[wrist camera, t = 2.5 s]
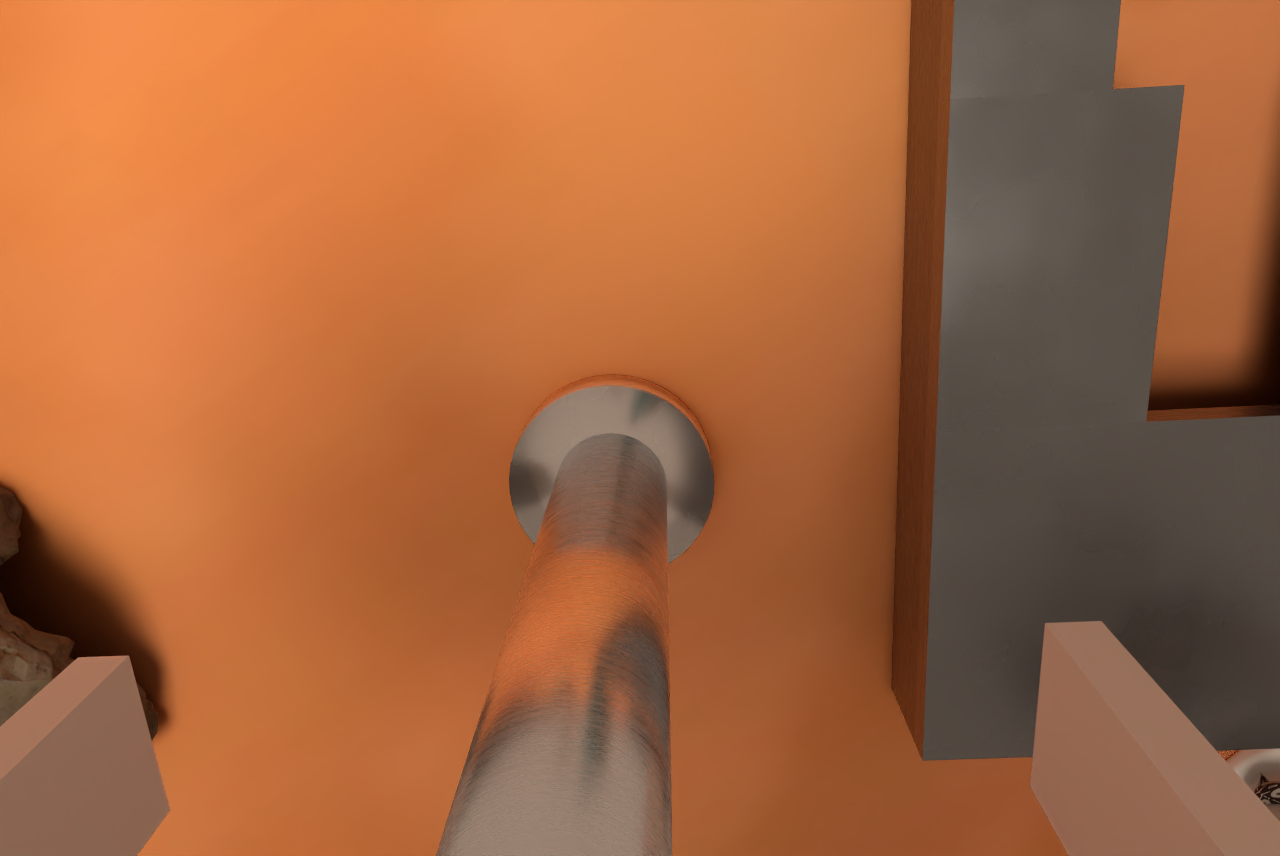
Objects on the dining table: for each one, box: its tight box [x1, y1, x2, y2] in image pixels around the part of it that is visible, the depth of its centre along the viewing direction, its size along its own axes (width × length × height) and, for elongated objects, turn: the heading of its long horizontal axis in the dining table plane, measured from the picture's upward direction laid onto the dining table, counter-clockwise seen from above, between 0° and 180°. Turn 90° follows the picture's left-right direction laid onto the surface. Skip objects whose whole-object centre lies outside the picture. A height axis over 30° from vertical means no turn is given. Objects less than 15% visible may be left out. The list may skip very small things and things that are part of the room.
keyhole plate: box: [892, 0, 1280, 761], centre depth 20 cm, size 26×13×3 cm, turn 3°
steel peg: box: [436, 375, 714, 856], centre depth 16 cm, size 5×5×17 cm
